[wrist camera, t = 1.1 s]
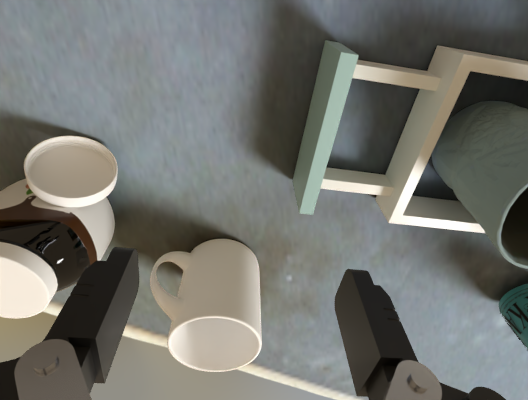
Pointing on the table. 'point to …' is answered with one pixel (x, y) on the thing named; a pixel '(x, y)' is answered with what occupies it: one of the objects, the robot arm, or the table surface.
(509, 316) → the beverage bottle
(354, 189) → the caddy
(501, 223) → the grey green hollow cylinder
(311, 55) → the table surface
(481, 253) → the table surface
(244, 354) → the mug
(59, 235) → the spread jar
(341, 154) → the table surface
